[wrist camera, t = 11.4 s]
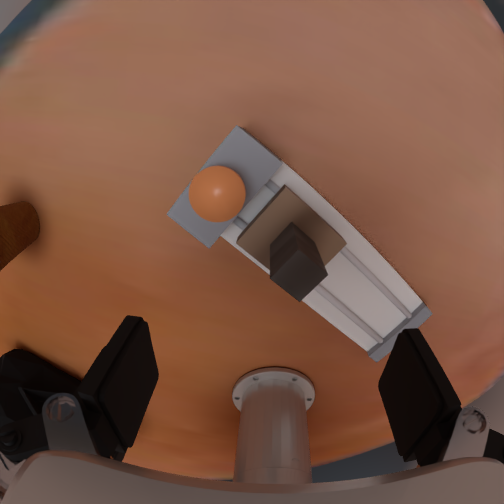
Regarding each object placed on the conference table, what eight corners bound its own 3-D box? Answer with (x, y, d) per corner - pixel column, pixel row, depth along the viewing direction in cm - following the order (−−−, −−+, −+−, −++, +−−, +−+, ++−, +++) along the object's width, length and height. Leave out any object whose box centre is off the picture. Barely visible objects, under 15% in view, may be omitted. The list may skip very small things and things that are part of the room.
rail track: (424, 304, 34) (444, 329, 29) (372, 351, 38) (383, 379, 32) (242, 128, 28) (236, 125, 22) (184, 200, 31) (166, 214, 26)
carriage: (342, 237, 29) (368, 276, 21) (296, 283, 31) (304, 334, 23) (284, 184, 27) (291, 204, 19) (237, 236, 30) (225, 276, 21)
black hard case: (21, 367, 47) (-22, 423, 28) (12, 329, 42) (-43, 389, 24) (135, 428, 49) (106, 505, 30) (139, 398, 45) (102, 489, 26)
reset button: (258, 186, 24) (257, 191, 22) (225, 224, 25) (221, 233, 23) (217, 153, 23) (212, 154, 21) (185, 193, 25) (177, 198, 22)
